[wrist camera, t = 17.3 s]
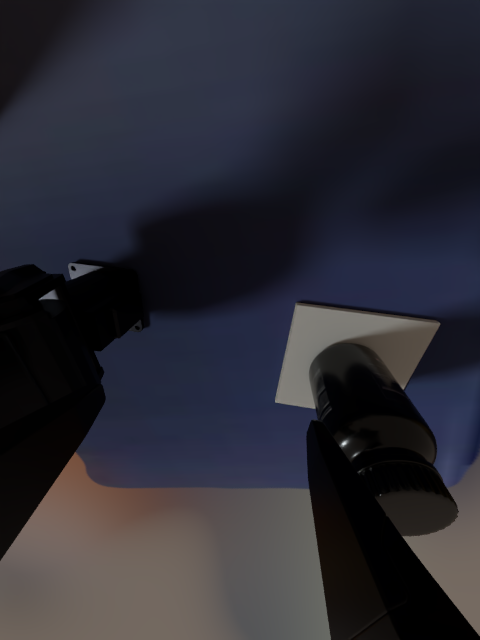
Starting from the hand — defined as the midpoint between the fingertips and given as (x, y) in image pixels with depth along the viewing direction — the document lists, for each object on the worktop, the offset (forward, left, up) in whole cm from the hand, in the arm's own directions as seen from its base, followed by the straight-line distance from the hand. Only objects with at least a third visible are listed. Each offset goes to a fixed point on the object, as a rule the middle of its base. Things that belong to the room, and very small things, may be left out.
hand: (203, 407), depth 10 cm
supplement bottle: (+11, -6, -13) cm, 18 cm away
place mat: (+11, -6, -13) cm, 18 cm away
